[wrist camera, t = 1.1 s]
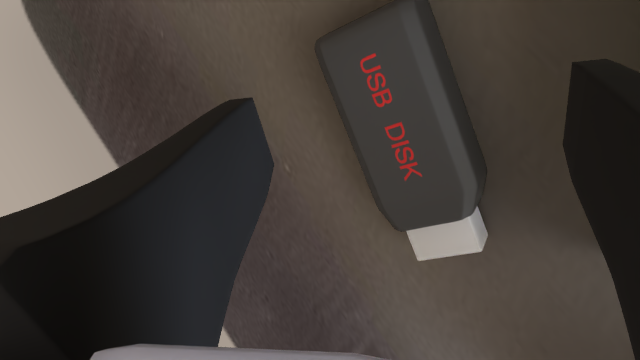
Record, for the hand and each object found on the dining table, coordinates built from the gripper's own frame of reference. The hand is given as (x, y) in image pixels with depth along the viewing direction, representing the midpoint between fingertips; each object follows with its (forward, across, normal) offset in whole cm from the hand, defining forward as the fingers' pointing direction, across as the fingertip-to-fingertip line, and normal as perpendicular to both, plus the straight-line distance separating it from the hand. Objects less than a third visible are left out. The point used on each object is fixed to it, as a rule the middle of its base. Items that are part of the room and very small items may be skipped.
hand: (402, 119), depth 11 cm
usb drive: (+11, 0, +7) cm, 13 cm away
